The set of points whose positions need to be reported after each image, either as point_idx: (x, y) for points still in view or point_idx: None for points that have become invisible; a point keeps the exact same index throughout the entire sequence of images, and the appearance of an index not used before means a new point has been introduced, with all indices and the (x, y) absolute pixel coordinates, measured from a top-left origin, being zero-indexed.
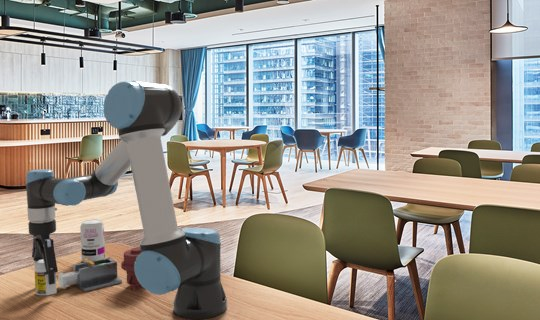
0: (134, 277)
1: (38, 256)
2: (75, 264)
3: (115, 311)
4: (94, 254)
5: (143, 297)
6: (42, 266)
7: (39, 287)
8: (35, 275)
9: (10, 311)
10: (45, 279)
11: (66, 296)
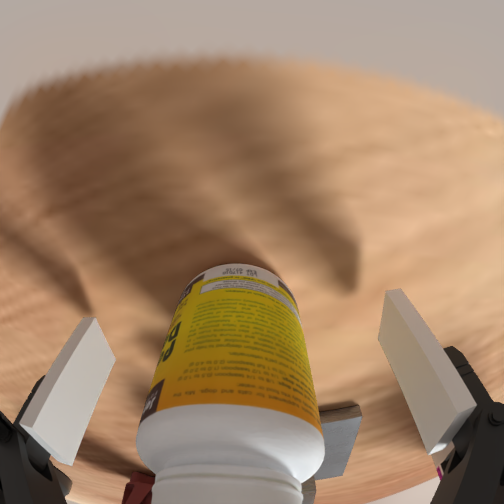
0: (122, 500)
1: (450, 484)
2: (312, 493)
3: (10, 403)
4: (444, 464)
5: (81, 459)
6: (156, 484)
7: (177, 312)
8: (196, 369)
9: (34, 113)
10: (51, 390)
11: (132, 370)
